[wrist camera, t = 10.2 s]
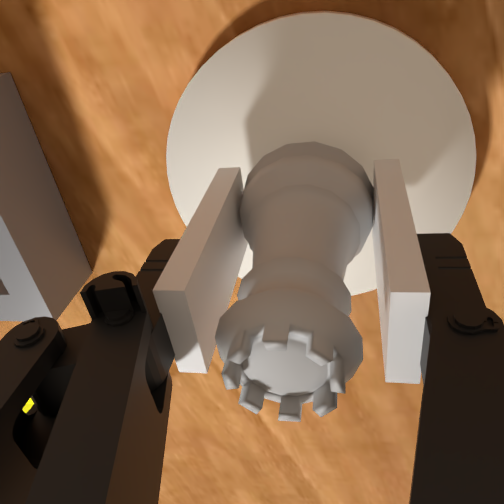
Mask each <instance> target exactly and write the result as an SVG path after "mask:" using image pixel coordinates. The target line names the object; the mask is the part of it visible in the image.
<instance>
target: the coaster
mask: <svg viewBox="0 0 504 504" xmlns="http://www.w3.org/2000/svg"><path fill="white" fill-rule="evenodd" d="M314 141H315V142H318V143H322V144H325V145H329V146H332V147H335V148H339V149H342V150H343V151H344V152H346V153H347V154H348V155H349V156H351V157H352V158H353V159H354V160H356V161H357V162H358V163H359V164H360V165H362V166H363V168H364V170H365V172H366V174H367V176H368V178H369V180H370V182H371V184H372V186H373V175H374V160H383V159H399V162H400V166H401V170H402V174H403V179H404V183H405V187H406V191H407V195H408V200H409V204H410V208H411V212H412V216H413V221H414V225H415V229H416V233H417V234H426V233H450V234H451V233H452V231H453V230H454V229H455V227H456V225H457V223H458V221H459V220H460V218H461V216H462V214H463V212H464V210H465V207H466V205H467V202H468V200H469V197H470V194H471V190H472V186H473V182H474V178H475V168H476V144H475V134H474V130H473V126H472V121H471V117H470V114H469V112H468V109H467V107H466V104H465V102H464V100H463V97H462V95H461V93H460V92H459V90H458V89H457V87H456V85H455V84H454V82H453V80H452V79H451V77H450V76H449V74H448V73H447V72H446V70H445V69H444V68H443V67H442V66H441V65H440V63H439V62H438V61H437V60H436V59H435V58H434V56H433V55H432V54H431V53H430V52H429V51H427V50H426V49H425V48H424V47H423V46H421V45H420V44H419V43H418V42H417V41H416V40H414V39H413V38H411V37H410V36H408V35H406V34H405V33H403V32H401V31H400V30H398V29H396V28H395V27H392V26H390V25H388V24H385V23H383V22H380V21H378V20H376V19H373V18H369V17H365V16H361V15H357V14H353V13H348V12H337V11H307V12H299V13H294V14H289V15H284V16H280V17H277V18H274V19H271V20H269V21H266V22H263V23H260V24H258V25H256V26H254V27H252V28H250V29H248V30H247V31H245V32H243V33H241V34H239V35H238V36H236V37H235V38H234V39H232V40H231V41H230V42H228V43H227V44H225V45H224V46H223V47H221V48H220V49H219V50H218V51H217V52H216V53H215V54H214V55H213V56H212V57H211V58H210V59H209V60H208V61H207V62H206V63H205V64H204V65H203V66H202V67H201V68H200V69H199V70H198V72H197V73H196V74H195V76H194V77H193V78H192V79H191V81H190V82H189V83H188V85H187V87H186V89H185V91H184V92H183V94H182V96H181V98H180V100H179V102H178V104H177V107H176V109H175V112H174V115H173V117H172V121H171V125H170V129H169V134H168V140H167V152H166V159H167V174H168V180H169V185H170V190H171V193H172V196H173V199H174V202H175V205H176V207H177V210H178V212H179V214H180V216H181V218H182V220H183V222H184V223H185V225H186V227H187V226H188V224H189V222H190V220H191V218H192V217H193V215H194V213H195V211H196V209H197V207H198V206H199V204H200V202H201V200H202V198H203V196H204V194H205V193H206V191H207V189H208V187H209V185H210V183H211V182H212V180H213V178H214V176H215V174H216V172H217V171H218V169H219V168H231V167H240V169H241V175H242V181H243V188H244V187H245V183H246V179H247V175H248V174H249V173H250V172H251V170H252V169H253V168H254V167H255V165H256V164H257V163H258V162H259V160H260V159H261V158H262V157H263V156H264V155H266V154H268V153H270V152H272V151H274V150H276V149H278V148H280V147H282V146H284V145H286V144H292V143H303V142H314ZM252 263H253V252H252V250H251V249H250V246H249V243H248V245H247V248H246V251H245V255H244V258H243V261H242V264H241V267H240V270H239V274H238V277H240V278H242V279H243V277H244V276H245V275H246V274H247V273H248V272H249V271H250V270H251V269H252ZM343 282H344V283H345V285H346V287H347V288H348V290H349V292H350V293H351V296H352V295H356V294H360V293H365V292H369V291H372V290H374V289H377V281H376V270H375V259H374V248H373V237H372V230H371V232H370V234H369V236H368V238H367V240H366V242H365V244H364V246H363V248H362V250H361V252H360V253H359V254H358V255H356V256H355V257H354V258H353V260H352V261H351V262H350V263H349V264H348V265H347V267H346V272H345V276H344V281H343Z"/></svg>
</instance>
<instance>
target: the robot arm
mask: <svg viewBox="0 0 504 504" xmlns="http://www.w3.org/2000/svg"><path fill="white" fill-rule="evenodd" d="M373 188H374V195H373V227H372V237H373V248H374V259H375V270H376V281H377V293H378V304H379V315H380V326H381V337H382V348H383V360H384V371H385V382H395V383H415V384H420V377H421V372H422V378H423V384H424V386H423V394H422V402H421V410H420V417H419V427H418V435H417V443H416V451H415V460H414V468H413V476H412V484H411V493H410V501H409V504H504V324H503V322H502V319H501V318H500V317H499V316H498V315H497V314H496V313H495V312H494V311H492V310H490V309H488V308H486V306H485V303H484V301H483V298H482V295H481V293H480V290H479V287H478V285H477V282H476V279H475V277H474V274H473V272H472V269H471V266H470V264H469V261H468V259H467V256H466V253H465V250H464V248H463V245H462V243H460V242H459V241H458V240H457V239H456V238H455V237H453V236H452V235H451V234H450V233H426V234H417V233H416V229H415V225H414V221H413V216H412V212H411V208H410V204H409V200H408V195H407V191H406V187H405V183H404V179H403V174H402V170H401V166H400V162H399V159H383V160H374V175H373ZM243 191H244V188H243V181H242V175H241V169H240V167H231V168H219V169H218V171H217V172H216V174H215V176H214V178H213V180H212V182H211V183H210V185H209V187H208V189H207V191H206V193H205V194H204V196H203V198H202V200H201V202H200V204H199V206H198V207H197V209H196V211H195V213H194V215H193V217H192V218H191V220H190V222H189V224H188V226H187V228H186V230H185V231H184V233H183V235H182V237H181V239H165V240H164V241H162V242H161V243H160V244H159V245H157V246H156V247H155V248H154V249H152V251H151V253H150V254H149V256H148V258H147V259H146V262H144V264H143V266H142V267H141V269H140V270H141V271H139V272H138V274H137V275H136V277H135V276H134V275H133V274H132V273H128V272H125V271H117V272H111V273H107V274H103V275H101V276H99V277H97V278H95V279H93V280H92V281H90V282H89V283H88V284H86V285H85V286H84V288H83V289H82V291H81V292H80V294H81V296H82V298H83V300H84V303H85V305H86V307H87V309H88V312H89V314H90V316H91V318H92V321H91V323H89V324H86V325H81V326H77V327H72V328H68V329H63V330H61V328H60V326H59V324H58V322H57V321H56V320H55V319H54V318H51V317H46V316H44V317H35V318H32V319H29V320H26V321H24V322H22V323H20V324H19V325H17V326H15V327H14V328H13V329H11V330H10V331H9V332H8V333H7V334H6V335H5V336H4V337H3V338H2V339H1V341H0V504H158V500H159V491H160V483H161V475H162V466H163V458H164V450H165V442H166V433H167V425H168V417H169V409H170V400H171V392H172V379H171V376H170V373H169V369H170V367H171V364H172V362H173V359H174V358H175V361H176V364H177V367H178V370H179V372H190V373H207V372H208V369H209V366H210V363H211V359H212V356H213V353H214V350H215V347H216V340H215V334H216V330H217V326H218V323H219V319H220V317H221V316H222V315H223V314H224V313H225V312H226V311H227V309H228V305H229V302H230V299H231V296H232V293H233V290H234V286H235V283H236V280H237V277H238V274H239V270H240V267H241V264H242V261H243V258H244V255H245V251H246V248H247V245H248V242H247V241H246V239H245V238H244V233H243V228H242V223H241V218H240V212H239V209H240V205H241V201H242V197H243ZM30 398H31V400H32V401H33V403H34V404H33V406H32V407H31V409H30V410H29V411H28V412H27V413H24V411H23V410H22V409H23V407H24V406H25V405H26V403H27V402H28V400H29V399H30Z"/></svg>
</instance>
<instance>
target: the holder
mask: <svg viewBox="0 0 504 504" xmlns="http://www.w3.org/2000/svg"><path fill="white" fill-rule="evenodd" d="M91 274H92V270H91V268H90V265H89V263H88V261H87V258H86V256H85V253H84V251H83V248H82V246H81V244H80V241H79V239H78V236H77V234H76V231H75V229H74V227H73V224H72V222H71V219H70V217H69V214H68V212H67V210H66V207H65V205H64V202H63V200H62V197H61V195H60V193H59V190H58V188H57V185H56V183H55V180H54V178H53V176H52V173H51V171H50V168H49V166H48V163H47V161H46V158H45V156H44V154H43V151H42V149H41V146H40V144H39V141H38V139H37V137H36V134H35V132H34V129H33V127H32V124H31V122H30V120H29V117H28V115H27V112H26V110H25V107H24V105H23V103H22V100H21V98H20V95H19V93H18V90H17V88H16V86H15V83H14V81H13V78H12V76H11V73H10V72H8V73H0V321H26V320H29V319H32V318H35V317H44V316H46V317H51V318H54V319H55V320H57V319H58V318H59V316H60V315H61V314H62V312H63V311H64V310H65V308H66V307H67V306H68V304H69V303H70V302H71V300H72V299H73V298H74V296H75V295H76V294H77V292H78V291H79V290H80V288H81V287H82V286H83V284H84V283H85V282H86V280H87V279H88V278H89V276H90V275H91Z"/></svg>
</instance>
